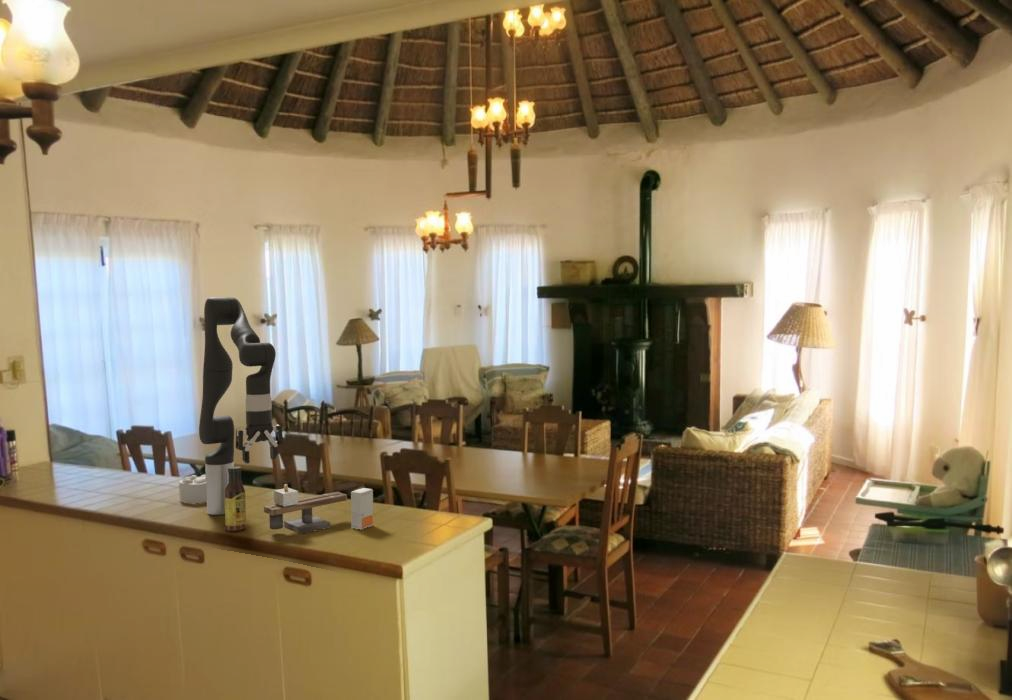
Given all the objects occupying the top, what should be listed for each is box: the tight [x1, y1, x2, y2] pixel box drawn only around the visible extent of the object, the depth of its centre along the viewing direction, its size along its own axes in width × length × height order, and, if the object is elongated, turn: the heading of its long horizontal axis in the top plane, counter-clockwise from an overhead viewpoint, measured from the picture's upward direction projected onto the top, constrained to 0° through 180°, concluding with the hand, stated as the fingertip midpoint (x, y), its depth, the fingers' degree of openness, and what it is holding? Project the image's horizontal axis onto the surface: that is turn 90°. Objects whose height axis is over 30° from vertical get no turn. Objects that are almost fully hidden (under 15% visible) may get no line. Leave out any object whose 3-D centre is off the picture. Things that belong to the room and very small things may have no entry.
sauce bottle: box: [224, 466, 247, 532], centre depth 242 cm, size 6×6×20 cm
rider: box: [273, 483, 299, 507], centre depth 238 cm, size 6×5×8 cm
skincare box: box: [350, 487, 374, 531], centre depth 242 cm, size 6×4×12 cm
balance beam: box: [263, 491, 348, 535], centre depth 244 cm, size 12×26×9 cm, turn 133°
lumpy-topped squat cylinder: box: [178, 474, 207, 504], centre depth 280 cm, size 10×13×9 cm
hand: (260, 460), depth 232 cm, fingers open, 8 cm apart
